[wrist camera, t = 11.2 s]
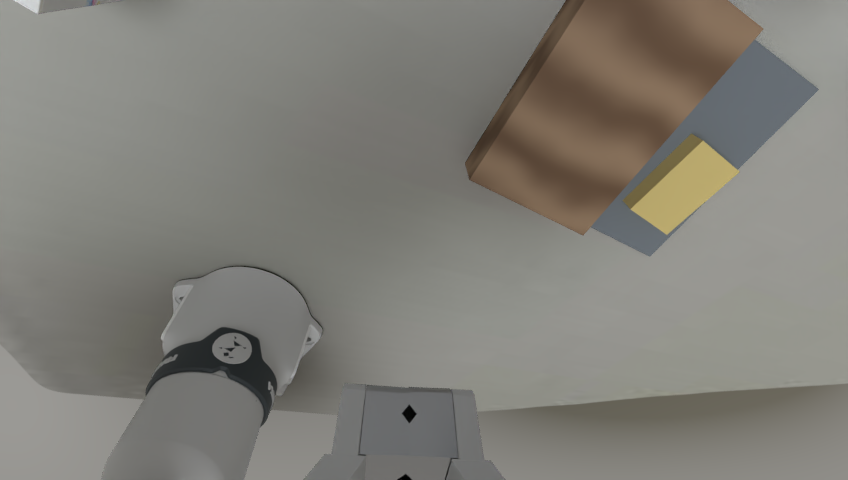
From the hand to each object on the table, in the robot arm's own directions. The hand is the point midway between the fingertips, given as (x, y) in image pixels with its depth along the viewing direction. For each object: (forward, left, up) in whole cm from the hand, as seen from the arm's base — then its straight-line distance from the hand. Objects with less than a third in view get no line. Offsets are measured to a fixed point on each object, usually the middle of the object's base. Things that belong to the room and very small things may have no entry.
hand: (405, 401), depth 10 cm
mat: (+6, -29, -34) cm, 45 cm away
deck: (+6, -16, -34) cm, 38 cm away
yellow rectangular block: (+4, -30, -32) cm, 44 cm away
